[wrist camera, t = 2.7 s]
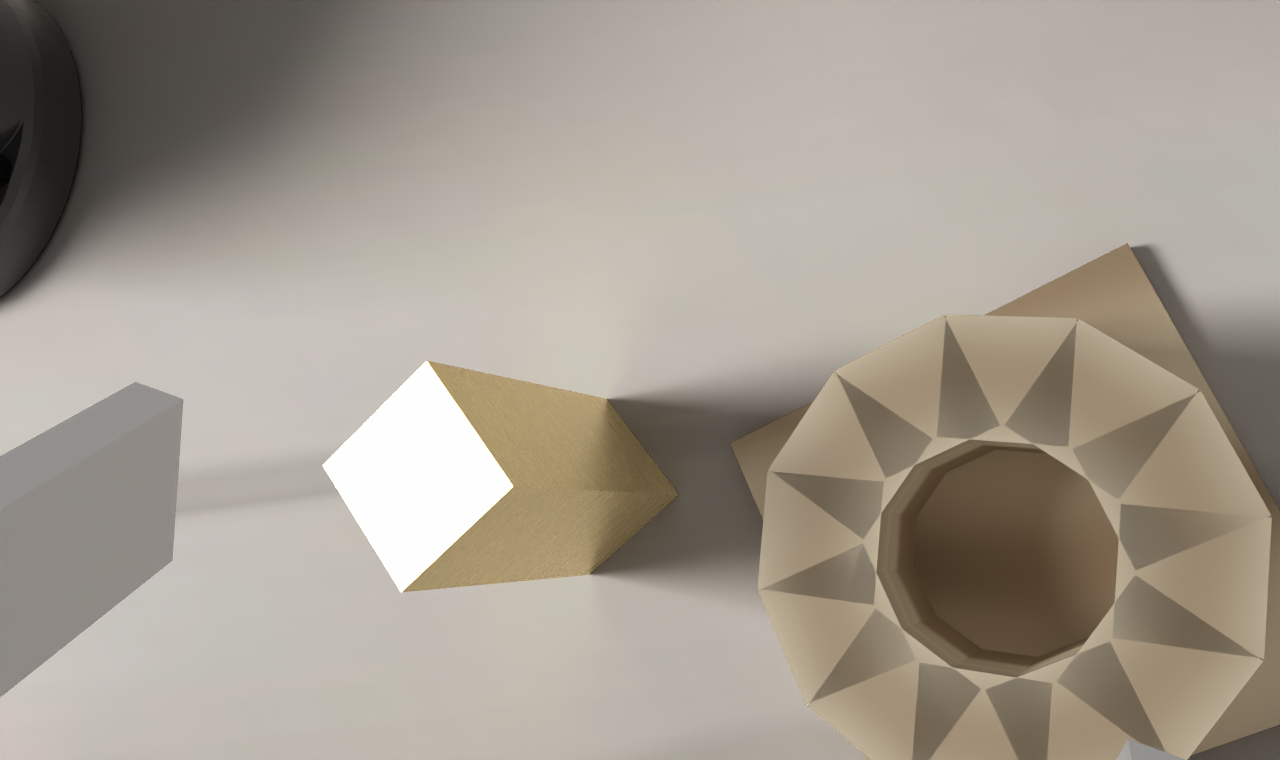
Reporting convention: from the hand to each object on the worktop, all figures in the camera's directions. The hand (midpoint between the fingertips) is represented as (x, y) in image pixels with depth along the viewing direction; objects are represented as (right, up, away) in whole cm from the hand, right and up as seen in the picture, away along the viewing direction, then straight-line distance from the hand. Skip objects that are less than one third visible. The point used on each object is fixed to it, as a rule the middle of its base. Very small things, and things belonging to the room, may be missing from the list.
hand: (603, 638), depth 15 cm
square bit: (-1, 0, +22) cm, 22 cm away
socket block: (+11, -1, +16) cm, 20 cm away
